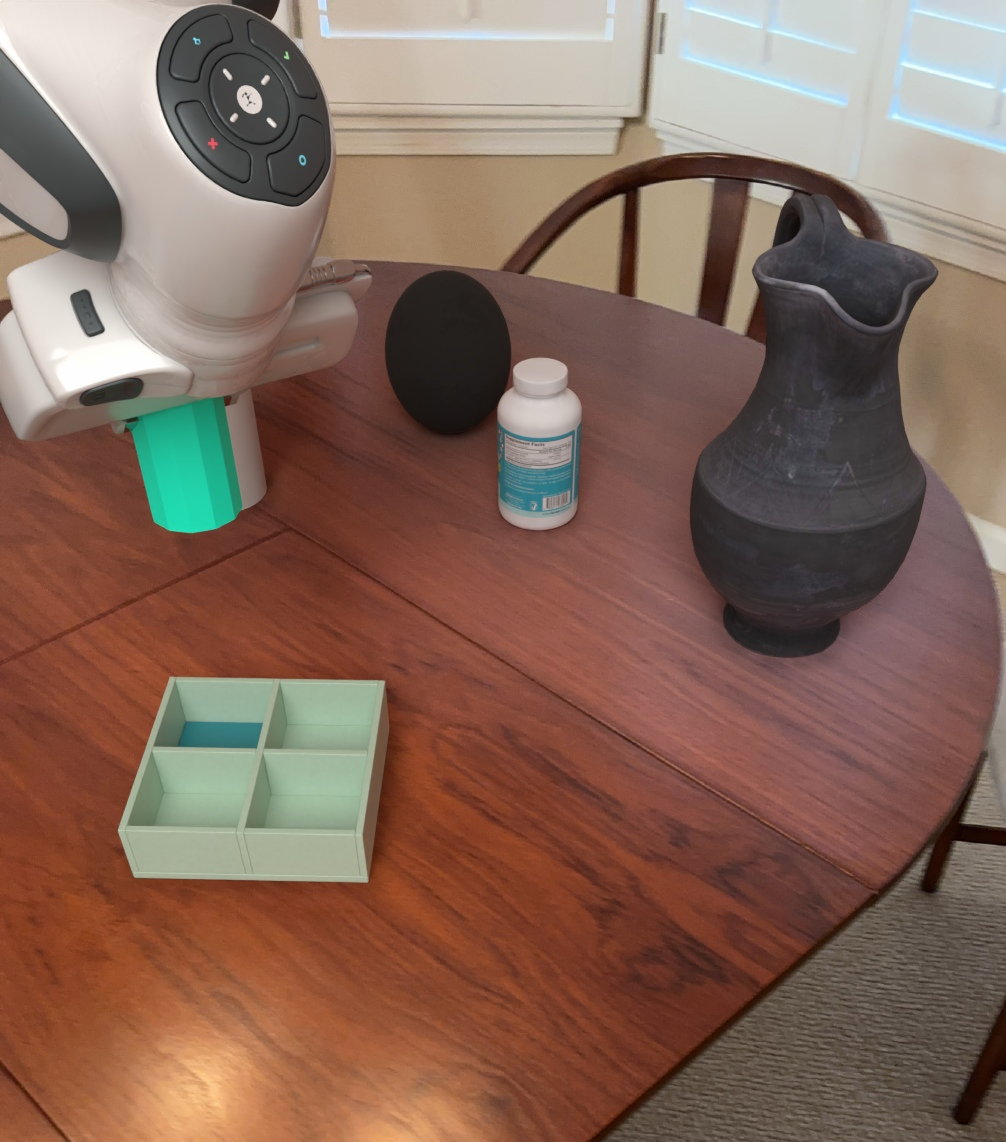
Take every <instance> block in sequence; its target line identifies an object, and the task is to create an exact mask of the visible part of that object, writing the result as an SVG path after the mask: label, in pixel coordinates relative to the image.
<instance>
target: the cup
mask: <svg viewBox="0 0 1006 1142" xmlns="http://www.w3.org/2000/svg"><path fill="white" fill-rule="evenodd" d="M225 409H226V415H227V421H228V426H229V432H230V437H231V443H232V448H233V454H234V460H235V465H236V471H237V476H238V482H239V488H240V493H241V499H242V504H243V508H242V509H241V511H243V510H246V509H249V508H251V507H254V506H255V505H256V504H258V503H259V502H260V501H261V500H263V498H264V497H265V495H266V493H267V489H268V486H267V479H266V473H265V467H264V462H263V456H262V450H261V449H262V448H261V444H260V443H261V442H260V436H259V430H258V424H257V418H256V413H255V405H254V399H253V395H252V388H251V389H249V390H247V391H246V392H244V393H243V394H240V395H239V398H238V400H237V403H236V404H233V405H229V406H225Z"/></svg>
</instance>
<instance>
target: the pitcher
mask: <svg viewBox="0 0 1006 1142" xmlns="http://www.w3.org/2000/svg"><path fill="white" fill-rule="evenodd" d="M751 274H752V277H753V279H754V281H755V283H756V286H757V288H758V291H759V294H760V297H761V302H762V308H763V312H764V313H763V314H764V323H765V331H766V336H765V353H764V355H765V356H764V360H763V363H762V367H761V370H760V372H759V376H758V379H757V381H756V384H755V387H754V389H753V390H752V392H751V393H750V395H749V397H748V399H747V400H746V402H745V404H744V405H743V407H742V408H741V410H740V411H739V412H738V414H737V415H736V416H735V418H734V419H733V420H732V421H731V423H730V424H728V426H727V427H726V428H725V429H724V430H723V431H721V432H720V433H719V434H718V435H716V436H715V437H714V438H713V439H712V440H711V441H710V442H709V443H708V444H707V445H706V446H705V447H704V448H703V449H702V450H701V452H700V454H699V455H698V457H697V461H696V465H695V469H694V473H693V477H692V482H691V489H690V499H689V501H690V502H689V528H690V536H691V537H690V538H691V542H692V547H693V551H694V555H695V558H696V560H697V562H698V564H699V567H700V569H701V571H702V573H703V575H704V576H705V578H706V579H707V581H708V582H709V584H710V585H711V586H712V587H713V588H714V590H715V591H716V592H717V594H719V595H720V597H721V598H723V600H725V602H726V604H725V606H724V610H723V612H722V615H723V619H722V620H723V621H722V622H723V625H724V629H725V631H726V632H727V633H728V636H730V638H732V639H733V640H734V642H736V643H737V644H739V645H741V646H742V647H744V648H745V649H748V650H750V651H752V652H754V653H757V654H761V655H763V656H764V655H765V656H769V657H775V658H798V657H799V658H800V657H804V656H805V657H806V656H809V655H813V654H817V653H820V652H822V651H825V650H826V649H828V648H829V647H830V646H831V645H832V644H833V643H834V642H835V641H837V638H838V636H839V634H840V631H841V619H840V618H843V617H844V616H846V615H848V614H850V613H852V612H854V611H856V610H859V609H860V608H863V607H864V606H866V605H867V604H869V603H870V602H872V601H873V600H874V599H875V598H876V597H878V596H879V595H880V594H881V593H882V592H883V591H884V590H885V589H886V588H887V586H888V585H889V584H890V583H891V582H892V580H893V579H894V578H895V576H896V575H897V573H898V571H899V570H900V568H901V567H902V565H903V564H904V561H905V560H906V557H907V555H908V553H909V551H910V548H911V546H912V543H913V540H914V538H915V535H916V533H917V529H918V525H919V522H920V519H921V514H922V511H923V505H924V501H925V498H926V492H927V486H928V485H927V484H928V482H927V476H926V472H925V469H924V467H923V465H922V463H921V461H920V459H919V458H918V457H917V456H916V454H915V453H914V452H913V449H912V448H911V444H910V441H909V438H908V434H907V431H906V427H905V423H904V416H903V409H902V395H901V382H900V373H899V354H900V353H899V352H900V345H901V342H902V339H903V335H904V333H905V329H906V327H907V324H908V321H909V319H910V316H911V314H912V312H913V310H914V308H915V306H916V303H918V302H919V300H920V298H921V297H922V296H923V294H924V293H925V292H926V291H927V290H928V289H930V287H931V286H933V285H934V283H935V282H936V280H937V279H938V276H939V270H938V268H937V267H936V265H935V264H934V263H933V262H932V260H931V259H929V258H928V257H927V256H924V255H923V254H921V253H919V252H917V251H914V250H913V249H910V248H907V247H904V246H901V245H898V244H893V243H889V242H885V241H881V240H877V239H872V238H867V237H862V236H858V235H855V234H854V233H853V232H851V230H849V228H848V227H847V225H846V223H845V222H844V220H843V218H842V216H841V213H840V211H839V209H838V206H837V205H836V203H835V202H834V200H833V199H832V198H831V197H830V196H829V195H826V194H821V193H814V194H811V195H810V196H809V195H807V194H805V193H801V192H800V193H799V192H798V193H796V194H795V195H793V196H791V197H789V198H788V199H786V201H785V202H784V203H783V206H782V207H781V209H780V212H779V215H778V219H777V223H776V226H775V231H774V236H773V242H772V246H771V248H770V249H767V250H765V251H764V252H763V253H761V254H760V255H759V256H758V257H757V258H756V259H755V260H754V264H753V266H752V269H751Z"/></svg>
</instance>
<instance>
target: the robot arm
mask: <svg viewBox="0 0 1006 1142" xmlns="http://www.w3.org/2000/svg"><path fill="white" fill-rule="evenodd" d="M280 3H281V0H0V214H1V216H3V217H4V218H6V219H7V220H9V221H10V222H12V223H13V224H14V225H16V226H17V227H19V228H20V229H22V230H24V232H26V233H28V234H30V235H31V236H33V237H35V238H36V239H38V240H40V241H42V242H43V243H46V244H47V245H49V246H52V247H54V248H56V249H59V250H57V251H55V252H52V253H50V254H47V255H45V256H42V257H40V258H38V259H35V260H32V261H30V262H27V263H25V264H22V265H20V266H17V267H16V268H15V269H13V270H12V271H10V272H9V274H8V275H7V277H6V281H5V283H6V289H7V294H8V297H9V300H10V303H11V307H12V309H11V310H10V311H9V312H8V313H7V314H6V315H5V316H4V317H3V318H2V319H1V321H0V404H1V407H2V408H3V409H2V410H3V412H4V414H5V417H6V418H7V420H8V422H9V424H10V427H11V429H12V431H13V433H14V434H15V436H16V438H17V439H18V440H20V441H23V442H27V443H41V442H44V441H48V440H51V439H55V438H59V437H62V436H66V435H70V434H75V433H78V432H82V431H86V430H90V429H94V428H98V427H102V426H106V425H110V428H111V429H112V432H113V434H114V435H116V436H117V435H118V436H119V435H121V434H125V433H130V432H132V431H133V429H134V428H135V426H136V425H137V423H138V422H139V419H138V417H137V416H141V415H145V414H149V413H153V412H157V411H160V410H164V409H168V408H172V407H176V406H180V405H184V404H188V403H192V402H195V401H199V400H203V399H207V398H216V397H223V398H224V404H225V406H229V405H233V404H236V403H237V400H238V398H239V395H240V394H243V393H244V392H246V391H247V390H249V389H251V390H252V388H254V387H258V386H261V385H266V384H269V383H273V382H276V381H281V380H284V379H289V378H292V377H296V376H300V375H304V374H307V373H311V372H316V371H320V370H324V369H327V368H328V369H329V368H330V367H333V366H335V365H336V364H338V363H340V362H341V361H343V360H344V359H346V358H347V356H348V355H349V354H350V352H351V350H352V347H353V344H354V342H355V339H356V336H357V331H358V328H359V322H360V321H359V319H360V318H359V317H360V316H359V312H358V309H357V308H356V304H357V303H358V302H360V301H361V300H362V299H363V298H364V297H365V296H366V294H367V293H368V290H369V288H370V287H371V285H372V281H373V278H372V270H371V268H369V267H368V265H367V264H365V263H361V264H355V263H354V262H353V261H352V260H351V259H346V258H345V259H344V258H343V259H342V258H341V259H335V258H334V257H332V256H330V255H317V252H318V249H319V247H320V243H321V240H322V237H323V233H324V231H325V227H326V223H327V219H328V215H329V212H330V207H331V203H332V198H333V194H334V193H333V192H334V187H335V181H336V173H337V142H336V133H335V126H334V121H333V117H332V111H331V107H330V104H329V99H328V97H327V93H326V91H325V88H324V85H323V83H322V81H321V79H320V76H319V75H318V73H317V71H316V69H315V67H314V65H313V64H312V62H311V60H310V59H309V58H308V56H307V55H306V53H305V51H303V49H302V48H301V47H300V46H299V45H298V44H297V42H296V41H295V40H294V39H293V38H292V37H291V35H289V34H288V33H287V32H286V31H285V30H284V29H282V28H281V27H280V26H279V25H278V24H276V23H275V22H273V19H274V18H275V16H276V14H277V12H278V9H279V6H280Z"/></svg>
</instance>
